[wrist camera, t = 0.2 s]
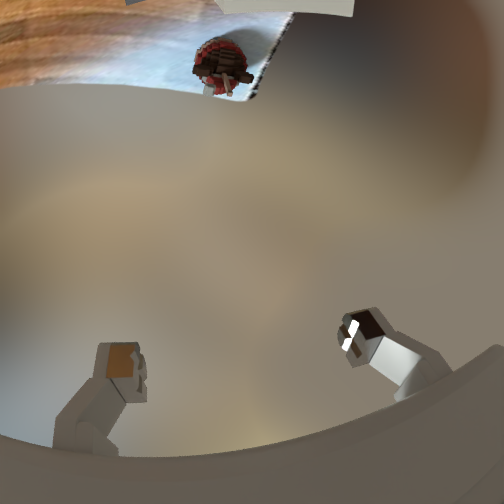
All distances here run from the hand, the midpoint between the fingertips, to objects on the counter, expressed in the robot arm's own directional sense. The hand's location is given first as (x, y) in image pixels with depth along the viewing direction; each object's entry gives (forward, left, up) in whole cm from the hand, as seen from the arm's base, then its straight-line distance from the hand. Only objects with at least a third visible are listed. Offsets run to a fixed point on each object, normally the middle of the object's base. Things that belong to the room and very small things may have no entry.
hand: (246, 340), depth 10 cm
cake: (+11, 0, -54) cm, 55 cm away
